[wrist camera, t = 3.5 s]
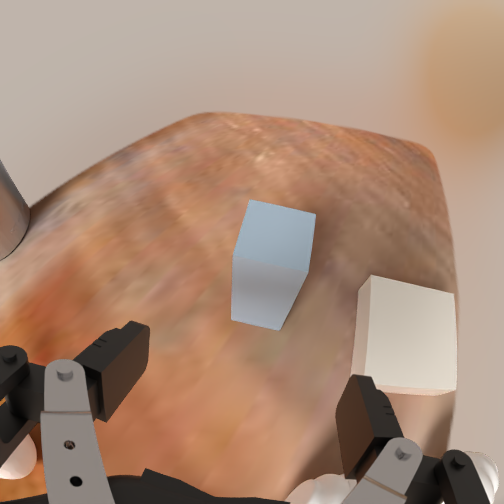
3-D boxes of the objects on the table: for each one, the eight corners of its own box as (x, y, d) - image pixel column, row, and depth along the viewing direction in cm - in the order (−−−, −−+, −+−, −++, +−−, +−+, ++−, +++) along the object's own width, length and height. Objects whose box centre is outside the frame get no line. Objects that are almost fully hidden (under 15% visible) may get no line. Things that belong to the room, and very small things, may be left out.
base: (348, 388, 22) (363, 382, 19) (358, 290, 26) (371, 274, 24) (436, 395, 21) (456, 389, 19) (436, 306, 26) (453, 293, 23)
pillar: (279, 330, 24) (308, 272, 16) (231, 319, 24) (232, 255, 16) (287, 287, 26) (315, 214, 18) (242, 277, 26) (249, 199, 18)
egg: (24, 409, 18) (-30, 395, 12) (60, 456, 16) (7, 458, 10) (-1, 440, 15) (-55, 432, 9) (32, 486, 14) (-21, 492, 8)
